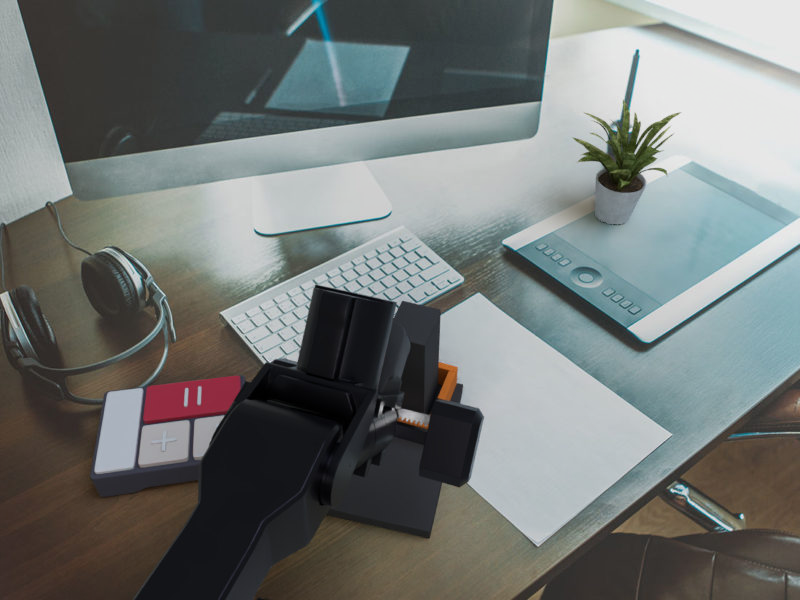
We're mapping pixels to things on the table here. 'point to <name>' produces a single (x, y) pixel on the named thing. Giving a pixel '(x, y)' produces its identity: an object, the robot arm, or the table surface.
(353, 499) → the base pad
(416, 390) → the dark gray block
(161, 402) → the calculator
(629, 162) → the house plant
